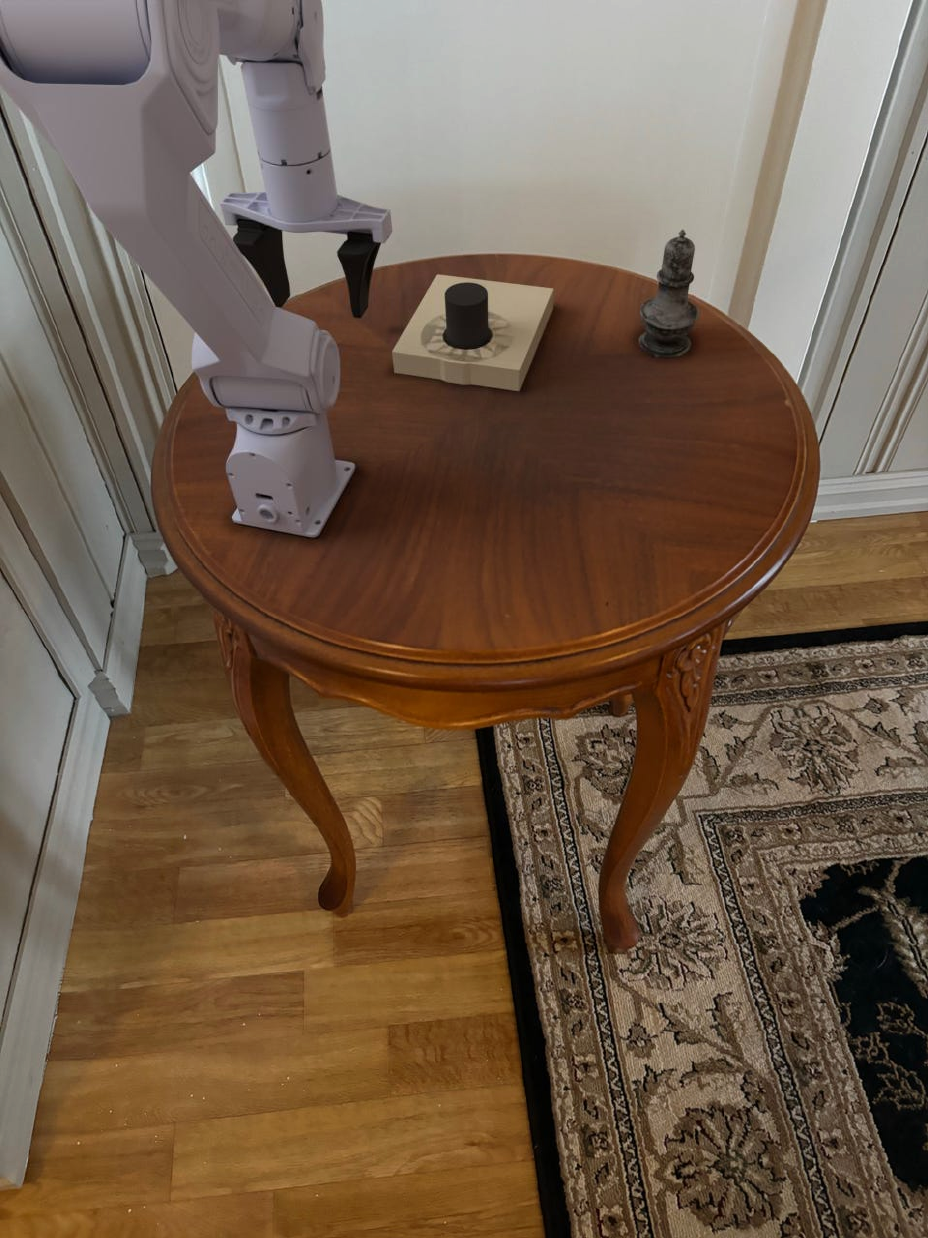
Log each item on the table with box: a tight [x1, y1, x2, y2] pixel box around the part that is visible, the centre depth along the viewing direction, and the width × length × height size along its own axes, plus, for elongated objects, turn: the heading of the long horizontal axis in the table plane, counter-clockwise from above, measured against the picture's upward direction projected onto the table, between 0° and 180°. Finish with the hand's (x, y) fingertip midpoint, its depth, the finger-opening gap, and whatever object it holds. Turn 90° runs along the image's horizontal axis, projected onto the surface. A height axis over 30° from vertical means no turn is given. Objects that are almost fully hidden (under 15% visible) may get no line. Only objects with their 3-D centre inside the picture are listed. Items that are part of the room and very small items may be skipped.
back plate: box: [391, 273, 555, 392], centre depth 92 cm, size 15×13×2 cm
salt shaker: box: [638, 229, 700, 359], centre depth 87 cm, size 6×6×12 cm
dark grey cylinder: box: [445, 282, 489, 350], centre depth 88 cm, size 4×4×7 cm
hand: (321, 306), depth 81 cm, fingers open, 7 cm apart
